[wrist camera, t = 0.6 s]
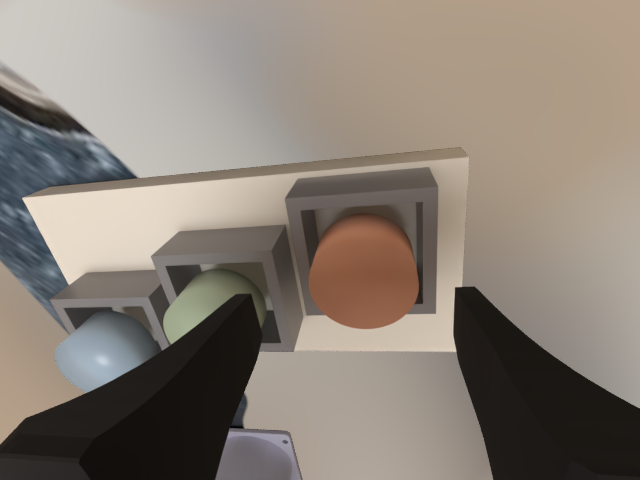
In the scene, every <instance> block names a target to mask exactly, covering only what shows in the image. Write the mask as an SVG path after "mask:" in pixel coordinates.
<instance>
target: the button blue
mask: <svg viewBox="0 0 640 480" xmlns="http://www.w3.org/2000/svg"><path fill="white" fill-rule="evenodd" d="M155 354H156V344H155V341H154V338H153V337H152V335H151V333H150V332H149V331H148V330H147V328H146V327H145V326H144V325H142V324H141V323H140V322H139V321H137V320H136V319H134V318H132V317H131V316H128V315H126V314H124V313H121V312H117V311H109V310H106V311H100V312H97V313H95V314H93V315H92V316H91V317H90V318H89V319H88V320H86V321H85V322H84V323H83V324H82V325H81V326H80V327H79V328H78V329H76V330H75V331H74V332H73V333H72V334H71V335H70V336H69V337H68V338H67V339H66V340H64V341H63V342H62V343H61V344H60V345H59V346H58V347H57V349H56V351H55V361H56V364H57V366H58V368H59V370H60V371H61V373H62V374H63V375H64V377H65V378H66V379H68V381H70V382H71V383H72V384H73V385H75V386H76V387H78V388H79V389H81V390H83V391H85V392H87V393H88V392H90V391H92V390H94V389H96V388H98V387H100V386H102V385H104V384H106V383H108V382H110V381H112V380H114V379H116V378H117V377H119V376H121V375H123V374H125V373H126V372H128V371H130V370H132V369H134V368H135V367H137V366H139V365H141V364H142V363H144V362H146V361H147V360H149V359H150V358H152V357H153V356H155Z"/></svg>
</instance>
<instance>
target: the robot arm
mask: <svg viewBox="0 0 640 480" xmlns="http://www.w3.org/2000/svg"><path fill="white" fill-rule="evenodd" d="M453 337H454V342H455V347H456V352H457V356H458V361H459V365H460V368H461V371H462V374H463V377H464V380H465V383H466V386H467V388H468V392H469V394H470V398H471V400H472V403H473V406H474V409H475V412H476V415H477V418H478V421H479V424H480V427H481V431H482V434H483V437H484V441H485V445H486V450H487V454H488V458H489V462H490V467H491V471H492V475H493V480H640V408H638V407H635V406H634V405H632V404H630V403H628V402H626V401H625V400H623V399H621V398H619V397H617V396H615V395H614V394H612V393H610V392H608V391H607V390H605V389H604V388H602V387H600V386H598V385H597V384H595V383H593V382H592V381H590V380H588V379H587V378H585V377H584V376H582V375H580V374H579V373H577V372H576V371H574V370H572V369H571V368H570V367H568V366H567V365H565V364H564V363H563V362H561V361H560V360H558V359H557V358H555V357H554V356H552V355H551V354H550V353H548V352H547V351H546V350H544V349H543V348H542V347H540V346H539V345H538V344H537V343H535V342H534V341H533V340H532V339H530V338H529V337H528V336H527V335H525V334H524V333H523V332H522V331H521V330H520V329H519V328H517V327H516V326H515V325H514V324H513V323H512V322H511V321H510V320H509V319H507V318H506V317H505V316H504V315H503V314H502V313H501V312H500V311H499V310H498V309H497V308H496V307H495V306H494V305H493V304H492V303H491V302H490V301H489V300H488V299H487V298H486V297H485V296H483V294H482V293H481V292H480V291H479V290H478V289H476V288H475V287H455V298H454V324H453ZM262 338H263V334H262V331H261V327H260V323H259V320H258V316H257V312H256V309H255V305H254V301H253V298H252V294H251V293H250V294H235V295H234V296H233V297H231V298H230V299H229V300H227V301H226V302H225V303H224V304H222V305H221V306H220V307H219V308H217V309H216V310H215V311H214V312H213V313H211V314H210V315H209V316H208V317H206V318H205V319H204V320H203V321H201V322H200V323H199V324H198V325H196V326H195V327H194V328H193V329H191V330H190V331H189V332H187V333H186V334H185V335H183V336H182V337H181V338H179V339H178V340H177V341H175V342H174V343H173V344H171V345H170V346H168V347H167V348H166V349H164V350H163V351H161V352H160V353H158V354H157V355H155V356H153V357H152V358H150V359H149V360H147V361H146V362H144V363H142V364H141V365H139V366H137V367H135V368H134V369H132V370H130V371H128V372H126V373H125V374H123V375H121V376H119V377H117V378H116V379H114V380H112V381H110V382H108V383H106V384H104V385H102V386H100V387H98V388H96V389H94V390H92V391H90V392H88V393H86V394H83V395H81V396H79V397H77V398H74V399H72V400H70V401H68V402H66V403H63V404H60V405H58V406H55V407H53V408H50V409H48V410H45V411H43V412H40V413H38V414H35V415H33V416H30V417H27V418H26V419H25V420H23V421H22V422H21V423H20V424H19V426H18V427H17V428H16V429H15V430H14V431H13V432H12V433H11V434H10V435H9V436H8V437H7V438H6V439H5V440H4V441H3V442H2V443H1V444H0V480H302V476H301V472H300V469H299V465H298V461H297V457H296V453H295V449H294V446H293V442H292V438H291V435H290V433H289V432H287V431H278V430H258V429H239V428H230V427H231V424H232V421H233V418H234V416H235V413H236V411H237V408H238V406H239V403H240V401H241V398H242V396H243V394H244V391H245V388H246V386H247V384H248V381H249V379H250V376H251V374H252V371H253V369H254V366H255V364H256V361H257V357H258V354H259V350H260V346H261V342H262Z"/></svg>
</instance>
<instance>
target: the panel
mask: <svg viewBox="0 0 640 480" xmlns="http://www.w3.org/2000/svg"><path fill="white" fill-rule="evenodd" d="M469 158H470V157H469V156H468V155H467V154H466V153H465V152H464V151H463V150H462V148H460V147H459V148H448V149H438V150H427V151H417V152H407V153H396V154H386V155H375V156H365V157H355V158H345V159H334V160H324V161H314V162H304V163H293V164H283V165H273V166H262V167H251V168H241V169H231V170H220V171H211V172H201V173H200V172H199V173H190V174H179V175H169V176H158V177H148V178H137V179H127V180H117V181H106V182H96V183H86V184H75V185H65V186H55V187H48V188H46V189H43V190H41V191H38V192H36V193H33V194H31V195H28V196H26V197H23V198H22V199H23V200H24V202H25V204H26V206H27V208H28V210H29V212H30V213H31V215H32V217H33V219H34V221H35V223H36V225H37V226H38V228H39V230H40V232H41V234H42V236H43V238H44V239H45V241H46V243H47V245H48V247H49V249H50V251H51V252H52V254H53V256H54V258H55V260H56V262H57V264H58V265H59V267H60V269H61V271H62V273H63V275H64V277H65V278H66V280H67V282H68V284H69V286H67V287H66V288H65V289H63V290H62V291H61V292H59V293H58V294H57V295H55V296H54V297H53V298H51V299H50V301H51V303H52V305H53V306H54V308H55V310H56V311H57V313H58V315H59V317H60V318H61V320H62V322H63V323H64V325H65V327H66V329H67V330H68V332H69V334H70V335H71V334H72V333H73V332H74V331H75V330H76V329H78V328H79V327H80V326H81V325H82V324H83V323H84V322H85V321H86V320H88V319H89V318H90V317H91V316H92V315H93V314H95V313H97V312H100V311H106V310H109V311H117V312H121V313H124V314H126V315H128V316H131V317H132V318H134V319H136V320H137V321H139V322H140V323H141V324H142V325H144V326H145V327H146V328H147V330H148V331H149V332H150V333H151V335H152V337H153V338H154V341H155V344H156V354H155V355H157V354H158V353H160V352H161V351H163V350H164V349H166V348H167V347H168V346H170V345H171V343H170V342H169V340H168V338H167V336H166V334H165V331H164V326H163V320H164V315H165V313H166V311H167V309H168V308H169V307H170V306H171V304H172V303H173V302H174V301H175V300H176V298H177V297H178V296H179V295H180V294H181V292H182V291H183V290H184V289H185V288H186V286H187V285H188V284H189V283H190V282H191V280H192V279H193V278H194V277H195V276H196V275H197V274H199V273H201V272H203V271H206V270H210V269H227V270H231V271H234V272H237V273H239V274H241V275H243V276H245V277H246V278H248V279H249V280H250V281H252V282H253V283H254V284H255V285H256V286H257V287H258V288H259V290H260V291H261V293H262V294H263V296H264V299H265V302H266V306H267V313H266V318H265V320H264V323H263V325H262V327H261V331H262V334H263V338H262V342H261V346H260V350H259V351H267V352H273V351H274V352H276V351H277V352H280V351H281V352H294V351H391V352H393V351H394V352H396V351H397V352H456V347H455V342H454V337H453V324H454V298H455V287H462V279H463V261H464V245H465V227H466V210H467V192H468V174H469ZM358 213H370V214H376V215H380V216H383V217H386V218H388V219H390V220H392V221H393V222H395V223H396V224H398V225H399V226H400V227H401V228H402V229H403V230H404V232H405V233H406V234H407V236H408V238H409V239H410V242H411V244H412V248H413V253H414V259H415V264H416V269H417V274H418V280H419V291H418V296H417V299H416V301H415V303H414V305H413V307H412V308H411V309H410V311H409V312H408V313H407V314H406V315H405V316H404V317H402V318H401V319H400V320H398V321H396V322H394V323H393V324H390V325H388V326H385V327H381V328H376V329H357V328H351V327H347V326H344V325H341V324H339V323H337V322H335V321H333V320H332V319H330V318H329V317H327V316H326V315H325V314H324V313H323V312H322V311H321V310H320V309H319V308H318V307H317V305H316V304H315V302H314V301H313V299H312V296H311V294H310V290H309V274H310V270H311V267H312V263H313V260H314V257H315V254H316V251H317V247H318V244H319V241H320V239H321V237H322V235H323V233H324V232H325V231H326V229H327V228H328V227H329V226H330V225H331V224H333V223H334V222H336V221H337V220H339V219H341V218H343V217H346V216H348V215H352V214H358Z"/></svg>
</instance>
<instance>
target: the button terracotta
mask: <svg viewBox="0 0 640 480" xmlns="http://www.w3.org/2000/svg"><path fill="white" fill-rule="evenodd" d="M309 290H310V294H311V296H312V299H313V301H314V302H315V304H316V305H317V307H318V308H319V309H320V310H321V311H322V312H323V313H324V314H325V315H326V316H327V317H329V318H330V319H332V320H333V321H335V322H337V323H339V324H341V325H344V326H347V327H351V328H357V329H376V328H381V327H385V326H388V325H390V324H393V323H394V322H396V321H398V320H400V319H401V318H402V317H404V316H405V315H406V314H407V313H408V312H409V311H410V309H411V308H412V307H413V305H414V303H415V301H416V299H417V296H418V291H419V280H418V274H417V269H416V264H415V259H414V253H413V248H412V244H411V242H410V239H409V238H408V236H407V234H406V233H405V232H404V230H403V229H402V228H401V227H400V226H399V225H398V224H396V223H395V222H393V221H392V220H390V219H388V218H386V217H383V216H380V215H376V214H370V213H358V214H352V215H348V216H346V217H343V218H341V219H339V220H337V221H336V222H334V223H333V224H331V225H330V226H329V227H328V228H327V229H326V231H325V232H324V233H323V235H322V237H321V239H320V241H319V244H318V247H317V251H316V254H315V257H314V260H313V263H312V267H311V270H310V274H309Z"/></svg>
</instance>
